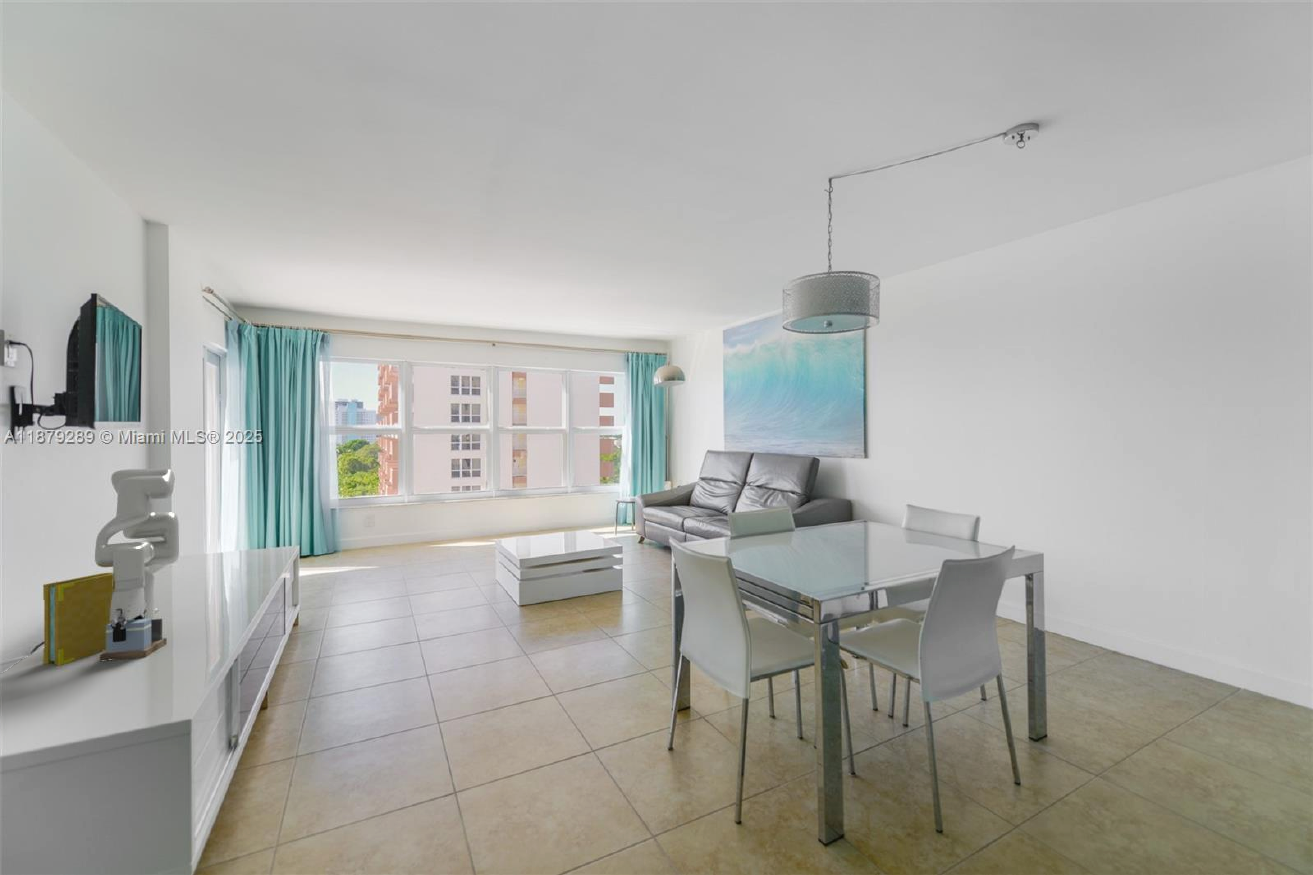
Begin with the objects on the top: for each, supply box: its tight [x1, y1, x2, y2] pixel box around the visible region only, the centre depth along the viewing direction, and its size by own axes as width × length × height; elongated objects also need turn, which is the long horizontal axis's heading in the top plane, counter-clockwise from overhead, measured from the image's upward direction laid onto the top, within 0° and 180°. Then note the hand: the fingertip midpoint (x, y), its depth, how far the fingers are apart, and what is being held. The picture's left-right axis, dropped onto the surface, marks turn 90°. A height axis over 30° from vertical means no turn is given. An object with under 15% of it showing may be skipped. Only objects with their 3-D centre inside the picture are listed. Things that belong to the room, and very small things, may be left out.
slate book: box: [105, 619, 151, 653], centre depth 182 cm, size 4×10×9 cm, turn 106°
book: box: [42, 571, 114, 666], centre depth 183 cm, size 17×7×25 cm, turn 168°
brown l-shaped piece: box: [99, 618, 167, 662], centre depth 184 cm, size 12×12×9 cm
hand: (129, 636), depth 182 cm, fingers open, 9 cm apart
